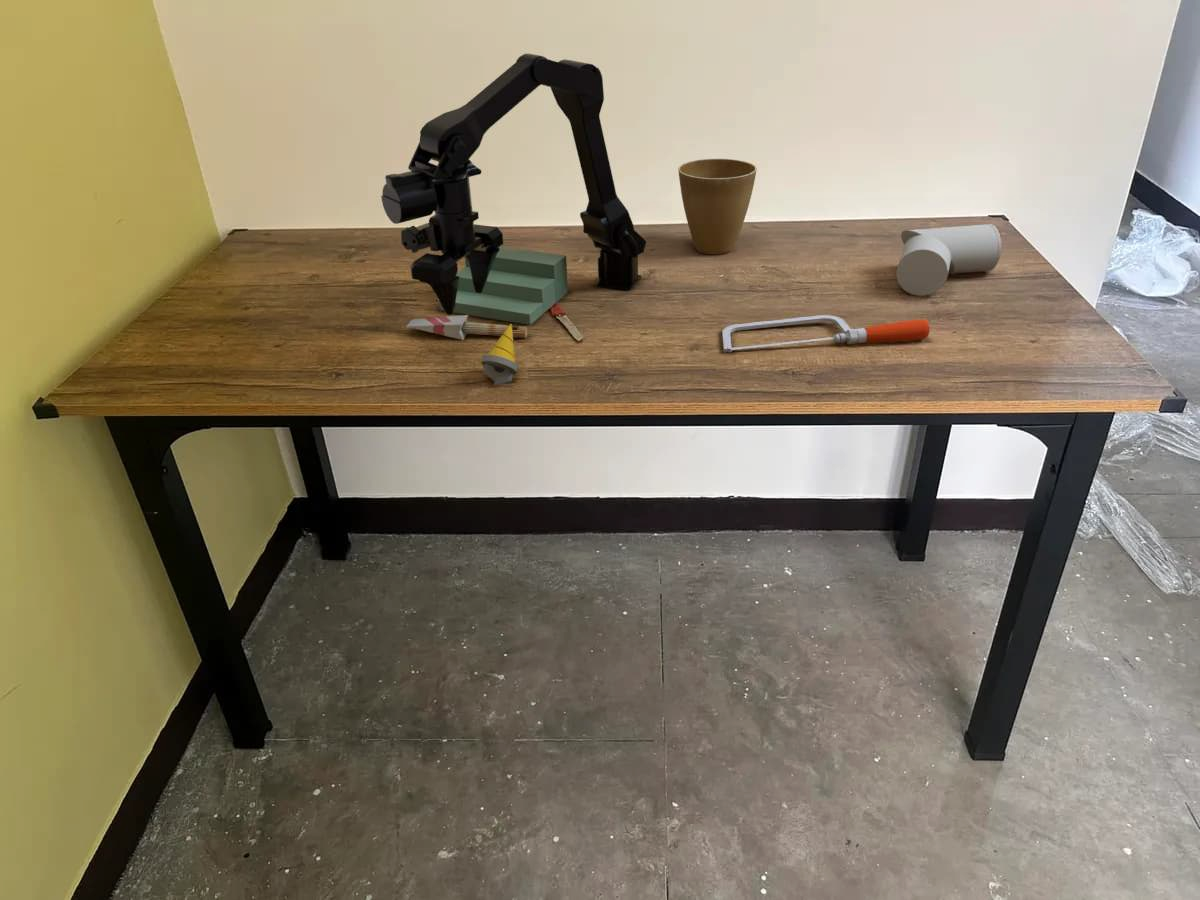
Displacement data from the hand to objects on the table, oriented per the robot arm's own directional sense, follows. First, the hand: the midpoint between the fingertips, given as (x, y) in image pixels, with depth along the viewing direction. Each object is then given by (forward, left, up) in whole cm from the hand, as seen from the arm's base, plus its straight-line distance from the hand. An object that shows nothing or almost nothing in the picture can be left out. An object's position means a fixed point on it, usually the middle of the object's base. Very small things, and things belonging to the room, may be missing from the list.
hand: (464, 303), depth 144 cm
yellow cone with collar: (-12, +11, -6) cm, 17 cm away
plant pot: (-26, -52, -6) cm, 59 cm away
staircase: (+1, -14, -6) cm, 16 cm away
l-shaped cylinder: (-70, -51, -6) cm, 87 cm away
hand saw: (-54, -19, -6) cm, 58 cm away
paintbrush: (0, 0, -6) cm, 6 cm away
